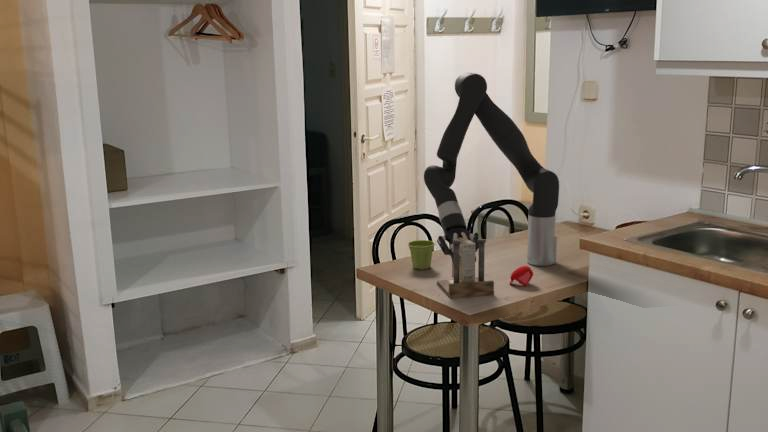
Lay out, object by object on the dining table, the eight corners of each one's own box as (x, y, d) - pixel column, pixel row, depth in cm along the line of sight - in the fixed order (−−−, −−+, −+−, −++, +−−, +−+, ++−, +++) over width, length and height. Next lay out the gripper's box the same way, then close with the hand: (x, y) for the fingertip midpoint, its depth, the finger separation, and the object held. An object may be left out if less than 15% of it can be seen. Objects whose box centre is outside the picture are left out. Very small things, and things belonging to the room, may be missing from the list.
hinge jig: (478, 280, 246) (478, 230, 243) (494, 294, 232) (494, 241, 228) (436, 284, 244) (436, 233, 240) (450, 298, 229) (450, 245, 226)
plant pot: (410, 272, 257) (410, 247, 256) (405, 264, 267) (405, 240, 265) (437, 270, 259) (437, 245, 257) (431, 263, 268) (431, 239, 266)
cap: (533, 271, 245) (518, 261, 245) (537, 270, 239) (521, 260, 239) (521, 292, 244) (505, 282, 244) (524, 292, 238) (508, 281, 238)
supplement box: (451, 277, 242) (451, 237, 239) (464, 275, 243) (465, 236, 240) (461, 284, 234) (461, 244, 231) (475, 283, 236) (476, 242, 233)
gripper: (433, 213, 239) (447, 260, 231) (475, 210, 243) (490, 255, 235) (428, 226, 245) (441, 272, 237) (468, 222, 249) (483, 267, 241)
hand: (465, 263), depth 236 cm, fingers closed on supplement box, 5 cm apart
